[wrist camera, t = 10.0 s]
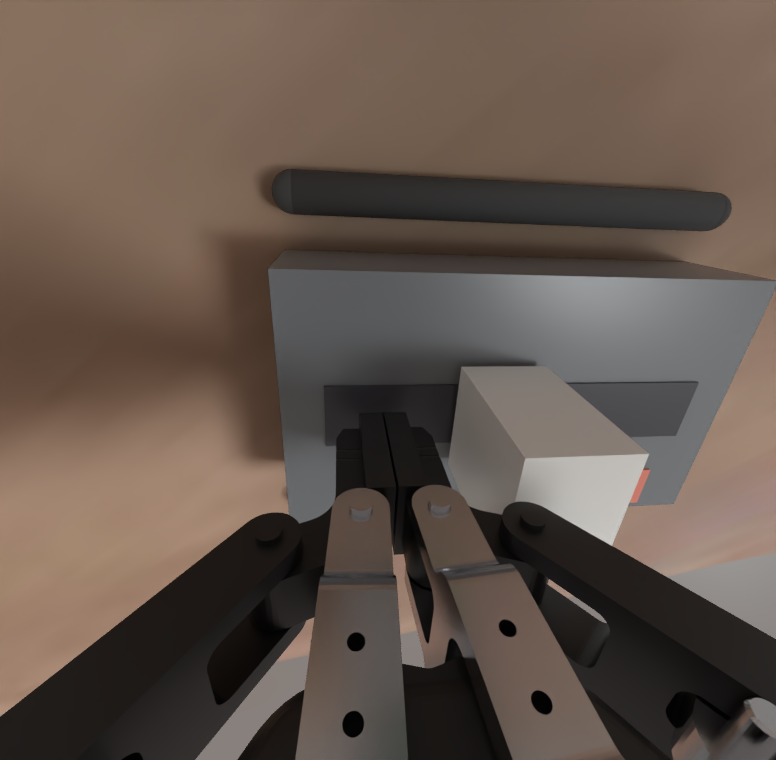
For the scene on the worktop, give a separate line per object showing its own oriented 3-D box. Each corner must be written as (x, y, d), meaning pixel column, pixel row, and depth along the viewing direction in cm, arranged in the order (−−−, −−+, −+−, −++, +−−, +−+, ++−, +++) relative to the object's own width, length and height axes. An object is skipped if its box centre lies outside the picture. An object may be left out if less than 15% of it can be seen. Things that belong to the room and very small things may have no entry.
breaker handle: (545, 366, 13) (649, 453, 9) (523, 460, 15) (600, 573, 11) (461, 366, 13) (525, 458, 9) (447, 463, 15) (495, 581, 10)
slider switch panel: (715, 193, 16) (748, 193, 15) (606, 489, 22) (622, 507, 21) (273, 169, 14) (267, 166, 12) (297, 504, 20) (295, 524, 19)
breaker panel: (686, 261, 17) (782, 281, 13) (617, 451, 21) (675, 505, 18) (284, 249, 15) (267, 269, 11) (299, 462, 19) (289, 526, 16)
